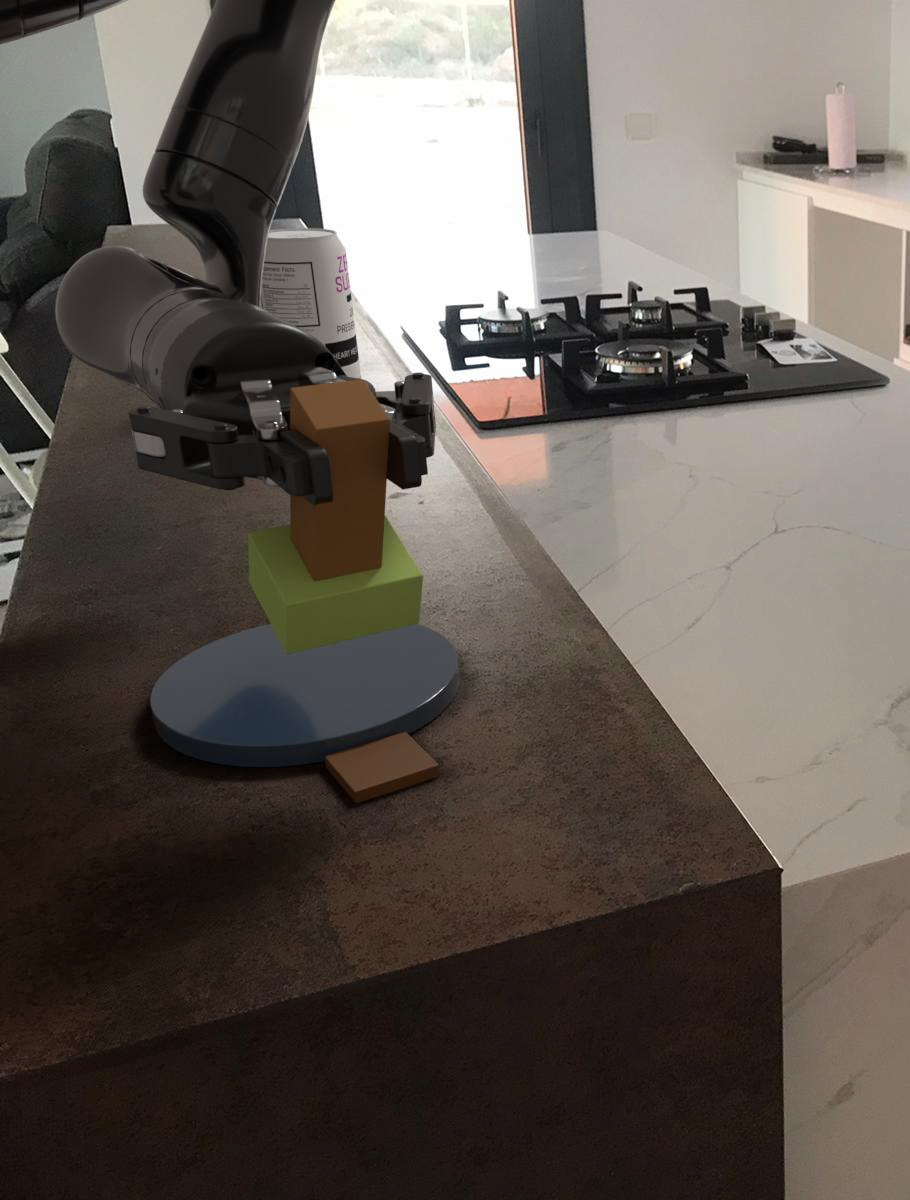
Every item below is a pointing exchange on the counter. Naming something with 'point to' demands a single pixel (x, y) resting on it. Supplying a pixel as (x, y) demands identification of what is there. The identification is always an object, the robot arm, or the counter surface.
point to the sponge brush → (337, 533)
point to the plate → (301, 695)
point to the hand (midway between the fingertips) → (368, 471)
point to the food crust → (381, 767)
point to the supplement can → (312, 289)
